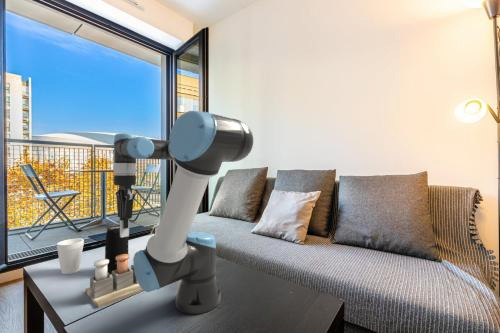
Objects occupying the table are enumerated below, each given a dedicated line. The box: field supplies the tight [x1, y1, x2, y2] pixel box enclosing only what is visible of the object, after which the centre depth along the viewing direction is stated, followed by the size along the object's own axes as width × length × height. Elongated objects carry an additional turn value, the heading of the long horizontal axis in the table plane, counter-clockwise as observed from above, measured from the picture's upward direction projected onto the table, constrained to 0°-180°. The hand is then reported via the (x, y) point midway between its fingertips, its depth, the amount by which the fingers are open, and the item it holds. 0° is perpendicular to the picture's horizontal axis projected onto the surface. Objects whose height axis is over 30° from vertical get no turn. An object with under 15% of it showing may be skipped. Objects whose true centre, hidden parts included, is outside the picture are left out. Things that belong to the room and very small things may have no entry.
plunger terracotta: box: [116, 253, 130, 275], centre depth 89 cm, size 5×5×7 cm
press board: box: [84, 264, 145, 309], centre depth 89 cm, size 15×20×7 cm
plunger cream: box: [93, 258, 109, 282], centre depth 84 cm, size 5×5×7 cm
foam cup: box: [56, 237, 85, 275], centre depth 104 cm, size 10×9×13 cm
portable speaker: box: [104, 224, 129, 275], centre depth 105 cm, size 9×9×20 cm
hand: (124, 236), depth 90 cm, fingers closed
